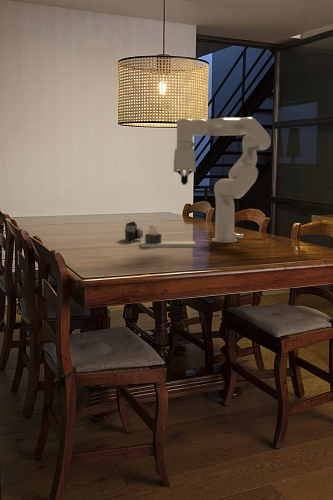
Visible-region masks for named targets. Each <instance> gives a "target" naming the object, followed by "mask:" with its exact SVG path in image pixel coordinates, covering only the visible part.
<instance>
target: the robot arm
mask: <svg viewBox="0 0 333 500" xmlns="http://www.w3.org/2000/svg"><path fill="white" fill-rule="evenodd" d="M194 136H196V137H197V136H213V137H219V136H221V137H225V136H243V138H242V142H241V145H242V154H241V157H239V159H238V160H237V161H236V162H235V163H234V164H233V166H232V167H231V168H230V170H229V172H228V178H221V179H219V180H217V181H216V182H215V184H214V188H213V192H214V193H213V194H214V197H215V198H214V199H215V223H214V225H215V226H214V227H215V228H214V229H215V231H214V234H215V235H214V236H215V237H213V238H212V239H211V241H212V242H214V243H225V244H227V243H228V244H230V243H236V242H237V241H238V238H239V239H242V238H243V239H244V234H243V233H236V232H235V213H236V212H235V209H236V207H235V202H234V199H241V198H242V197H244V196H245V194H247V192H248V191H249V190H250V188H251V187H252V186H253V185H254V183H256V181H257V178H258V175H259V170H258V168H257V167H256V165H257V162H258V155H257V154H258V153H257V151H264V150H267V149H268V148H270V146H271V143H272V139H271V136H270V134H269V133H268V132H267V130H266V129H265V128H264V127H263V126H262V125H261V124H260V123H259V122H258V121H257V119H255V118H254V117H252V116H247V117H219V118H218V117H216V118H210V119H203V118H198V119H197V118H196V119H195V118H194V119H191V118H179V119H178V120H177V121H176V148H175V149H174V152H173V172H174V173H177V174H179V175H180V183H181V185H185V186H186V185H187V184H188V181H189V180H188V179H189V178H188V177H189V176H190V175H191V174H192V173H196V171H197V170H196V153H195V148H194V147H196V145H197V144H196V142H195V143H194V141H193V140H194V139H193V138H194ZM184 171H185V174H184Z"/></svg>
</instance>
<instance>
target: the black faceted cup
mask: <svg viewBox="0 0 333 500" xmlns="http://www.w3.org/2000/svg"><path fill="white" fill-rule="evenodd" d="M144 236H145V237H144V241H145V243H148V244H159V243H161V241H162V233H158V235H149V233H145V235H144Z"/></svg>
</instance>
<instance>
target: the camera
mask: <svg viewBox="0 0 333 500" xmlns="http://www.w3.org/2000/svg"><path fill="white" fill-rule="evenodd" d="M143 232H144V231H143V229H141V228H140V227H139V228H138V225H137V223H136V222H135V221H130V222H126V224H125V228H124V239H125V241H126V242H127V243H128V244H133V243H134V244H135V243H136V240H140V239H141V238H143V235H144V233H143Z"/></svg>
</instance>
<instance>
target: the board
mask: <svg viewBox="0 0 333 500" xmlns="http://www.w3.org/2000/svg"><path fill="white" fill-rule="evenodd" d="M140 247H141V248H197V243H196V242H195V241H194V240H171V241H170V240H165V241H163V240H161V243H159V244H148V243H145V240H143V241H142V240H141V241H140Z"/></svg>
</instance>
